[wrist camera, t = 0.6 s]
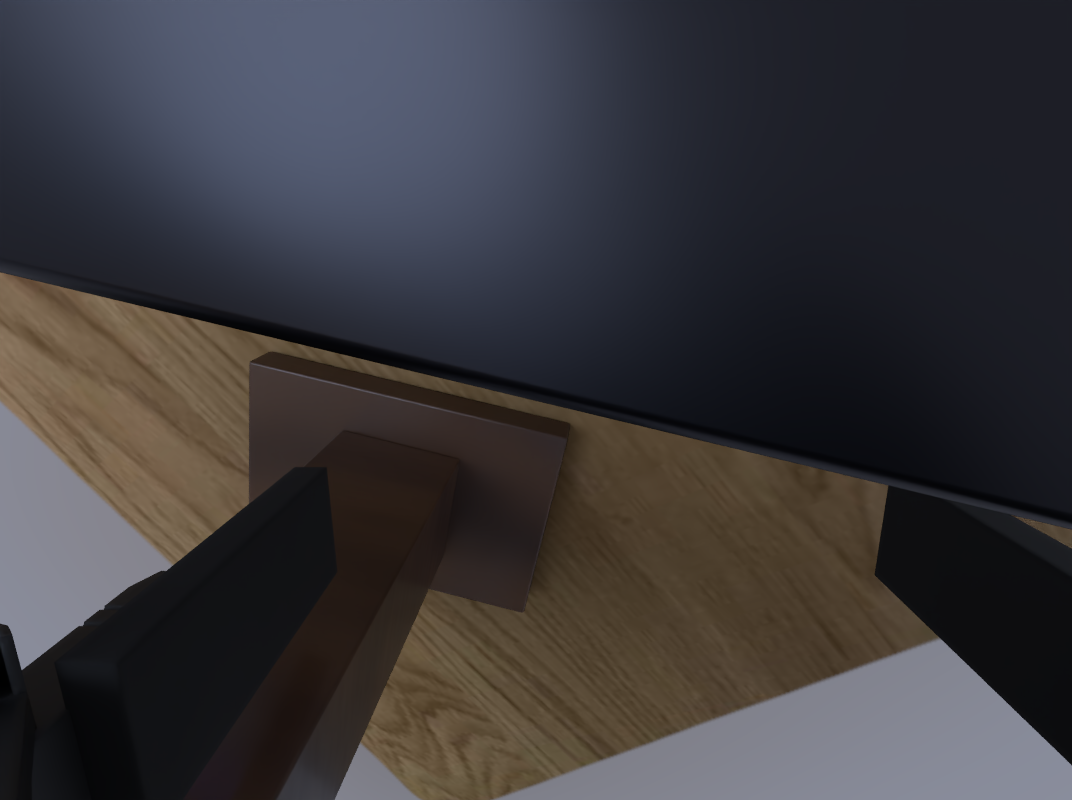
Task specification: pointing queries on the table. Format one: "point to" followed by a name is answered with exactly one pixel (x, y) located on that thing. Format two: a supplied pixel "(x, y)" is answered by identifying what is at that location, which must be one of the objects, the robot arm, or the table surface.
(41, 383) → the table surface
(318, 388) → the brown post
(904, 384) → the pedestal
